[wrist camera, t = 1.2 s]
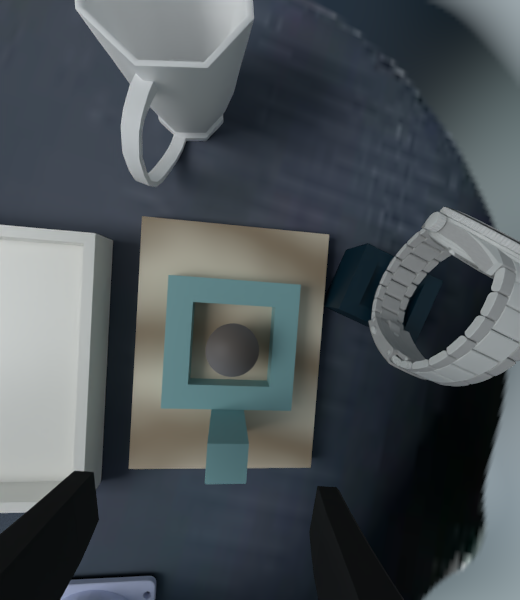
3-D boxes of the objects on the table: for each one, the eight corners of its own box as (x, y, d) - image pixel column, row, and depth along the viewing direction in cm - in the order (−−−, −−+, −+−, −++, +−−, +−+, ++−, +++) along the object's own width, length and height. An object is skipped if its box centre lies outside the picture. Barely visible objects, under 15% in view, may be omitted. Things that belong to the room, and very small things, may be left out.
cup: (259, 80, 19) (284, -71, 11) (210, 222, 19) (199, 176, 11) (155, 33, 18) (99, -169, 10) (104, 182, 18) (8, 100, 10)
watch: (421, 257, 21) (635, 227, 10) (377, 357, 21) (543, 435, 10) (356, 224, 20) (510, 151, 9) (310, 327, 20) (409, 376, 9)
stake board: (306, 458, 21) (323, 495, 17) (133, 459, 19) (112, 499, 16) (324, 237, 20) (345, 226, 16) (146, 220, 18) (127, 204, 15)
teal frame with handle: (284, 432, 19) (305, 482, 14) (163, 431, 18) (139, 485, 13) (296, 284, 19) (321, 284, 14) (172, 275, 18) (151, 271, 13)
